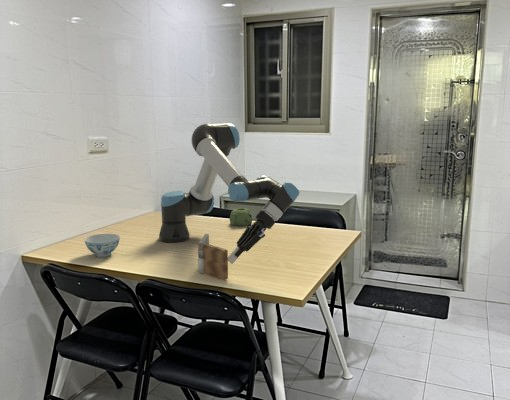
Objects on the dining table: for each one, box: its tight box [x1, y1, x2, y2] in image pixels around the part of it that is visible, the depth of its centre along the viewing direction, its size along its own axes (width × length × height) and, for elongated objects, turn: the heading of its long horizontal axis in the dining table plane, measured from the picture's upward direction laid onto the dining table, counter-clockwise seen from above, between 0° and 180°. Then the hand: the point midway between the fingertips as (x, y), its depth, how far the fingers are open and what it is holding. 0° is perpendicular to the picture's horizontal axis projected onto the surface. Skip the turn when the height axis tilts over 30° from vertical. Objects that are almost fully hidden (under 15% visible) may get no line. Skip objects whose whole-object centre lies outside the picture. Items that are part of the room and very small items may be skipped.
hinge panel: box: [197, 233, 210, 274], centre depth 192 cm, size 15×3×12 cm, turn 177°
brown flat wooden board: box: [197, 241, 229, 281], centre depth 182 cm, size 15×3×12 cm, turn 47°
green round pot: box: [229, 207, 253, 227], centre depth 263 cm, size 16×13×9 cm
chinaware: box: [84, 233, 121, 258], centre depth 209 cm, size 15×15×8 cm
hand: (229, 261), depth 181 cm, fingers closed
